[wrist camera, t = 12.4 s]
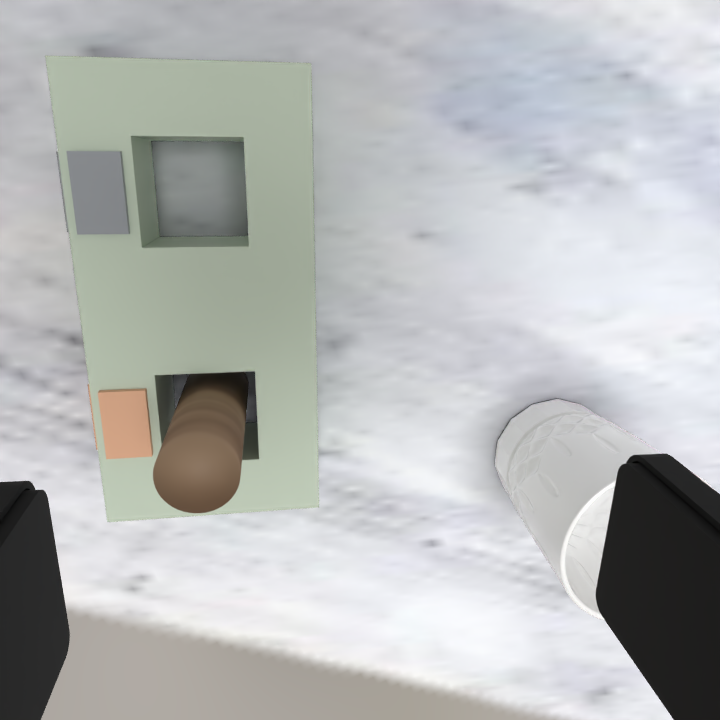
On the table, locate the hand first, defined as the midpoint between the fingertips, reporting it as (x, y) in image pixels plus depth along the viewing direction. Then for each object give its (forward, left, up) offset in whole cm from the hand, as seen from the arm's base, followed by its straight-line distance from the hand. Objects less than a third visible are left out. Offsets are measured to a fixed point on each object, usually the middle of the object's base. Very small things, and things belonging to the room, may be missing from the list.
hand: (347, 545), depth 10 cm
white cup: (+10, +15, -23) cm, 29 cm away
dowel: (+5, -4, -23) cm, 24 cm away
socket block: (0, -4, -23) cm, 23 cm away
